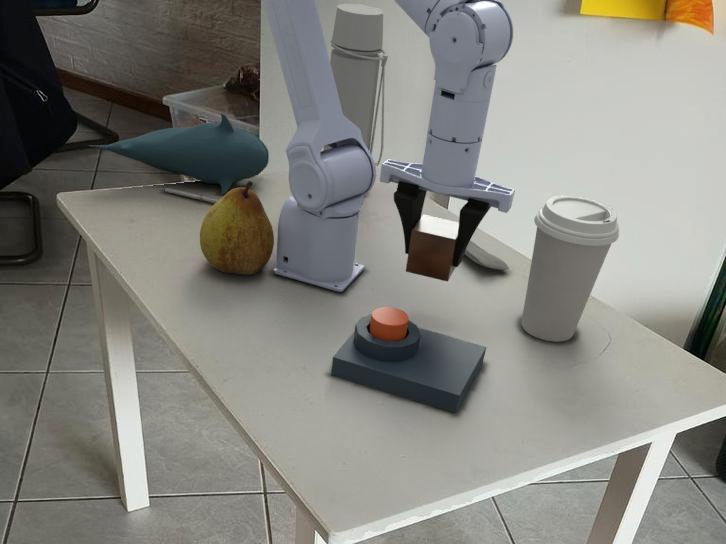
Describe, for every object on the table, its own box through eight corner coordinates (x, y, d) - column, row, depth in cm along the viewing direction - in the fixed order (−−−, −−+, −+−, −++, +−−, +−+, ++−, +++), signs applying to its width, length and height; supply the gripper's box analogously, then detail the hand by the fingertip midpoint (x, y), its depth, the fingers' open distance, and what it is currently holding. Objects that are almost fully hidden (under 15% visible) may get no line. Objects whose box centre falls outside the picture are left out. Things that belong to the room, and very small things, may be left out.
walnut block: (405, 271, 93) (411, 229, 90) (416, 255, 97) (422, 213, 94) (447, 281, 93) (455, 239, 89) (457, 264, 96) (465, 223, 93)
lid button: (363, 335, 88) (365, 318, 86) (376, 320, 90) (379, 303, 89) (398, 346, 87) (401, 329, 85) (410, 329, 90) (413, 313, 88)
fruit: (204, 250, 107) (203, 156, 99) (274, 256, 108) (278, 164, 100) (195, 280, 100) (193, 183, 93) (270, 287, 101) (274, 191, 93)
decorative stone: (463, 245, 119) (437, 239, 116) (467, 236, 118) (441, 231, 115) (509, 274, 112) (482, 269, 109) (512, 265, 111) (486, 260, 108)
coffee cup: (528, 350, 96) (561, 227, 87) (496, 310, 103) (525, 192, 93) (599, 346, 99) (640, 226, 89) (564, 307, 106) (599, 192, 96)
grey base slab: (330, 374, 88) (334, 342, 85) (367, 330, 96) (371, 299, 93) (455, 413, 85) (462, 380, 82) (482, 363, 93) (490, 332, 90)
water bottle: (312, 193, 126) (325, 8, 110) (328, 177, 132) (343, -1, 116) (369, 206, 124) (391, 21, 108) (383, 189, 130) (406, 11, 114)
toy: (278, 117, 119) (249, 117, 132) (92, 103, 109) (80, 104, 122) (276, 197, 124) (249, 189, 136) (97, 190, 114) (85, 182, 126)
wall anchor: (217, 205, 118) (218, 198, 118) (164, 193, 120) (164, 186, 119) (220, 205, 119) (221, 198, 118) (167, 193, 121) (168, 186, 120)
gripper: (531, 139, 87) (503, 260, 95) (402, 110, 90) (386, 229, 98) (516, 158, 81) (488, 284, 90) (379, 126, 84) (365, 250, 93)
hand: (433, 257), depth 94 cm, fingers closed on walnut block, 5 cm apart
